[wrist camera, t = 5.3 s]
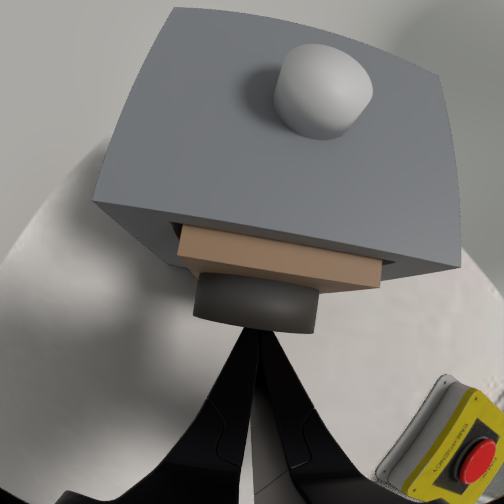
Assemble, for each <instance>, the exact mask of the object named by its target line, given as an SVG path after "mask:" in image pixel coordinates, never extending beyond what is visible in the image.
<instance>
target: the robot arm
mask: <svg viewBox="0 0 504 504" xmlns="http://www.w3.org/2000/svg"><path fill="white" fill-rule="evenodd" d="M249 421H250V423H251V445H252V465H253V486H254V495H255V496H254V504H450V503H448V502H447V501H446V500H444V499H443V498H438V499H434V500H431V501H428V502H424V503H418V502H413V501H410V500H408V499H406V498H404V497H402V496H400V495H398V494H396V493H394V492H392V491H390V490H388V489H386V488H384V487H382V486H380V485H378V484H376V483H375V482H373V481H371V480H369V479H368V478H366V477H365V476H364V475H363V474H361V473H360V472H359V471H358V470H357V468H356V467H355V466H354V465H353V463H352V462H351V461H350V459H349V458H348V457H347V455H346V454H345V453H344V451H343V450H342V449H341V447H340V446H339V445H338V443H337V442H336V441H335V439H334V438H333V436H332V435H331V434H330V432H329V431H328V429H327V428H326V426H325V424H324V423H323V421H322V419H321V418H320V416H319V414H318V412H317V410H316V409H314V405H313V403H312V402H311V400H310V398H309V396H308V394H307V393H306V391H305V389H304V387H303V385H302V383H301V382H300V380H299V378H298V376H297V374H296V373H295V371H294V369H293V367H292V365H291V363H290V362H289V360H288V358H287V356H286V354H285V352H284V351H283V349H282V347H281V345H280V343H279V341H278V339H277V338H276V336H275V334H274V332H273V331H268V330H260V329H253V328H247V327H244V328H243V330H242V332H241V334H240V336H239V338H238V340H237V342H236V344H235V345H234V347H233V349H232V351H231V353H230V355H229V357H228V359H227V361H226V363H225V365H224V366H223V368H222V370H221V372H220V374H219V376H218V378H217V380H216V381H215V383H214V385H213V387H212V389H211V391H210V393H209V395H208V396H207V399H206V400H205V402H204V404H203V405H202V407H201V409H200V411H199V412H198V414H197V416H196V417H195V419H194V421H193V422H192V423H191V425H190V426H189V427H188V429H187V430H186V432H185V433H184V434H183V435H182V437H181V438H180V439H179V441H178V442H177V443H176V444H175V446H174V447H173V448H172V449H171V450H170V452H169V453H168V454H167V455H166V457H165V458H164V459H163V460H162V461H161V462H160V464H159V465H158V466H157V467H156V468H155V469H154V470H153V471H152V472H150V473H149V474H148V475H147V476H146V477H144V478H143V479H142V480H141V481H139V482H138V483H137V484H135V485H134V486H133V487H132V488H130V489H129V490H128V491H126V492H125V493H124V494H122V495H121V496H120V497H118V498H116V499H115V500H111V501H100V500H96V499H93V498H90V497H87V496H84V495H82V494H79V493H76V492H72V491H69V490H66V491H65V492H64V493H63V494H62V496H61V497H60V498H59V499H58V501H57V502H56V503H55V504H239V482H240V474H241V467H242V463H243V457H244V451H245V445H246V439H247V433H248V427H249ZM0 504H30V503H28V502H26V501H24V500H22V499H20V498H18V497H16V496H15V495H13V494H11V493H9V492H8V491H6V490H4V489H2V488H1V487H0ZM486 504H504V495H502V496H500V497H498V498H496V499H494V500H492V501H490V502H488V503H486Z"/></svg>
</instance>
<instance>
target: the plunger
mask: <svg viewBox="0 0 504 504" xmlns="http://www.w3.org/2000/svg"><path fill="white" fill-rule="evenodd" d="M177 256H178V257H179V258H180V259H181V260H182V262H183V263H184V264H185V265H186V267H187V268H188V269H189V270H190V271H191V273H192V274H193V275H194V276H195V277H196V279H197V280H198V286H197V292H196V298H195V304H194V311H193V316H195V317H198V318H202V319H206V320H210V321H214V322H219V323H224V324H229V325H235V326H240V327H247V328H253V329H260V330H268V331H276V332H286V333H299V334H312V333H314V327H315V320H316V313H317V306H318V298H319V294H322V293H333V292H344V291H354V290H364V289H373V288H380V281H381V269H382V259H379V258H374V257H368V256H363V255H358V254H353V253H347V252H342V251H337V250H331V249H326V248H320V247H315V246H309V245H304V244H298V243H293V242H287V241H281V240H276V239H270V238H265V237H259V236H253V235H247V234H242V233H236V232H230V231H224V230H218V229H212V228H206V227H200V226H194V225H188V224H183V227H182V232H181V237H180V242H179V248H178V253H177Z"/></svg>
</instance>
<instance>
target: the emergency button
mask: <svg viewBox="0 0 504 504" xmlns="http://www.w3.org/2000/svg"><path fill="white" fill-rule="evenodd" d="M503 462H504V413H503V412H502V411H501V410H500V409H499V408H498V407H497V406H496V405H495V404H494V403H493V402H492V401H491V400H490V399H489V398H488V397H487V396H486V395H484V394H483V393H482V392H481V391H480V390H478V389H475V388H472V387H469V386H467V385H464V384H462V383H460V382H459V381H458V380H457V379H456V378H454V377H453V376H452V375H449V374H445V375H442V376H441V377H440V378H439V379H438V380H437V382H436V384H435V385H434V387H433V389H432V390H431V392H430V394H429V395H428V397H427V399H426V400H425V402H424V403H423V405H422V407H421V408H420V410H419V411H418V413H417V414H416V416H415V417H414V419H413V420H412V422H411V423H410V425H409V426H408V427H407V429H406V430H405V432H404V433H403V434H402V436H401V437H400V439H399V440H398V441H397V443H396V444H395V445H394V447H393V448H392V449H391V451H390V452H389V453H388V454H387V456H386V457H385V458H384V459H383V461H382V462H381V463H380V464H379V466H378V468H377V470H376V476H377V477H378V478H379V479H380V480H382V481H384V482H386V483H389V484H392V485H393V486H395V487H396V488H398V489H399V490H401V491H402V492H403V493H404V494H406V495H408V496H409V497H412V498H415V499H418V500H422V501H425V502H428V501H431V500H434V499H438V498H443V499H444V500H446V501H447V502H448V503H450V504H475V502H476V501H477V500H478V498H479V497H480V496H481V494H482V493H483V492H484V490H485V489H486V487H487V486H488V485H489V483H490V482H491V480H492V479H493V477H494V476H495V474H496V473H497V471H498V470H499V468H500V467H501V465H502V463H503Z"/></svg>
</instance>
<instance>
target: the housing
mask: <svg viewBox="0 0 504 504" xmlns="http://www.w3.org/2000/svg"><path fill="white" fill-rule="evenodd" d="M92 201H93V202H94V203H95V204H96V205H98V206H99V207H100V208H101V209H102V210H103V211H104V212H106V213H107V214H108V215H109V216H110V217H111V218H113V219H114V220H115V221H116V222H117V223H118V224H120V225H121V226H122V227H123V228H124V229H126V230H127V231H128V232H129V233H130V234H131V235H133V236H134V237H135V238H136V239H137V240H139V241H140V242H141V243H142V244H144V245H145V246H146V247H147V248H148V249H150V250H151V251H152V252H153V253H155V254H156V255H157V256H158V257H160V258H161V259H162V260H163V261H165V262H166V263H167V264H168V265H173V266H179V267H185V268H187V267H186V265H185V264H184V263H183V262H182V260H181V259H180V258H179V257H178V256H177V253H178V248H179V242H180V237H181V232H182V227H183V224H188V225H194V226H200V227H206V228H212V229H218V230H224V231H230V232H236V233H242V234H247V235H253V236H259V237H265V238H270V239H276V240H281V241H287V242H293V243H298V244H304V245H309V246H315V247H320V248H326V249H331V250H337V251H342V252H347V253H353V254H358V255H363V256H368V257H374V258H379V259H382V269H381V281H384V280H391V279H397V278H403V277H409V276H416V275H422V274H427V273H433V272H439V271H445V270H450V269H456V268H461V215H460V199H459V186H458V176H457V168H456V160H455V152H454V147H453V140H452V134H451V128H450V123H449V118H448V113H447V108H446V103H445V100H444V95H443V91H442V87H441V83H440V79H439V76H438V75H436V74H434V73H432V72H430V71H428V70H426V69H424V68H422V67H420V66H417V65H416V64H413V63H411V62H409V61H407V60H405V59H402V58H400V57H398V56H395V55H393V54H391V53H388V52H386V51H383V50H381V49H378V48H375V47H373V46H370V45H368V44H364V43H362V42H359V41H356V40H353V39H350V38H347V37H344V36H341V35H338V34H335V33H331V32H328V31H325V30H321V29H317V28H314V27H310V26H306V25H301V24H298V23H293V22H289V21H284V20H280V19H275V18H270V17H264V16H258V15H252V14H246V13H239V12H230V11H222V10H212V9H199V8H180V7H174V8H173V10H172V12H171V13H170V15H169V17H168V18H167V20H166V22H165V24H164V25H163V27H162V29H161V31H160V32H159V34H158V36H157V38H156V40H155V42H154V44H153V46H152V47H151V49H150V51H149V53H148V55H147V57H146V59H145V61H144V63H143V65H142V67H141V69H140V71H139V74H138V76H137V78H136V80H135V82H134V85H133V87H132V89H131V91H130V93H129V96H128V98H127V100H126V103H125V105H124V107H123V110H122V112H121V115H120V117H119V120H118V122H117V125H116V128H115V130H114V133H113V136H112V138H111V141H110V144H109V147H108V150H107V152H106V155H105V158H104V161H103V164H102V167H101V171H100V174H99V177H98V180H97V184H96V187H95V190H94V194H93V197H92Z"/></svg>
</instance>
